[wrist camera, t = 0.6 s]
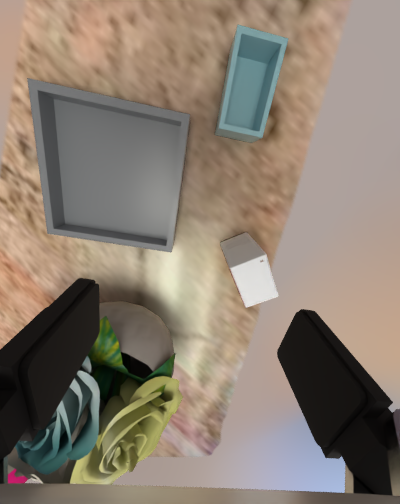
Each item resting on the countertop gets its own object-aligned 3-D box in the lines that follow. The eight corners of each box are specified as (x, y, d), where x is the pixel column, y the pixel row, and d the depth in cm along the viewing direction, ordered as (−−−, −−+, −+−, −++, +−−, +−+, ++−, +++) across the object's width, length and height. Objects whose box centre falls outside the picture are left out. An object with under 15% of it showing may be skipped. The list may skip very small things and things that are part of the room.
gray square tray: (50, 91, 27) (27, 78, 23) (190, 121, 29) (189, 114, 25) (63, 226, 34) (47, 233, 31) (173, 244, 36) (171, 252, 33)
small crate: (230, 51, 26) (237, 24, 21) (271, 61, 26) (288, 38, 22) (214, 135, 30) (218, 128, 25) (251, 143, 30) (262, 137, 26)
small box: (219, 242, 36) (228, 267, 27) (246, 231, 36) (266, 252, 26) (232, 275, 39) (245, 309, 30) (258, 266, 39) (280, 297, 29)
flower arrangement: (79, 355, 47) (-27, 526, 24) (68, 265, 37) (-123, 407, 15) (180, 363, 49) (169, 526, 26) (193, 280, 39) (194, 422, 17)
